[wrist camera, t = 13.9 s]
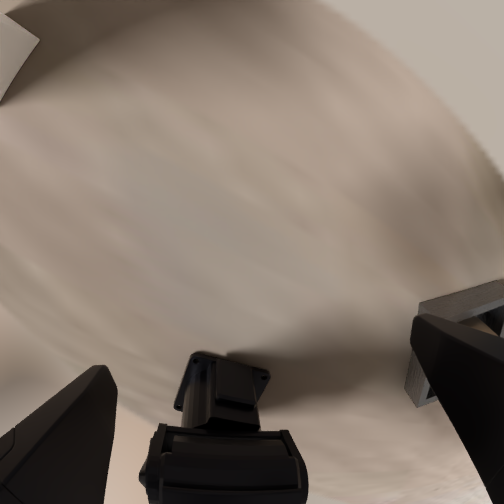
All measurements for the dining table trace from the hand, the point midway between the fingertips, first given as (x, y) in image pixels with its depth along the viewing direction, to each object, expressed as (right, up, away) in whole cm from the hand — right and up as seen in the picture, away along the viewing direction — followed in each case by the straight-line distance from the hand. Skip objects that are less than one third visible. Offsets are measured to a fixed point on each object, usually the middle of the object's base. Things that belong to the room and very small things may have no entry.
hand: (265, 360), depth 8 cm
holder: (+19, -5, +18) cm, 26 cm away
